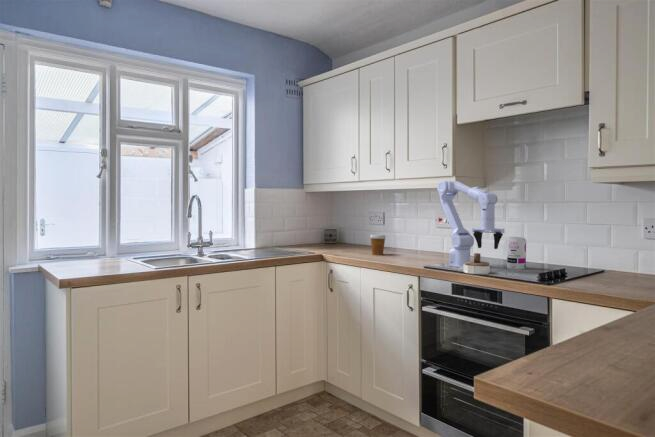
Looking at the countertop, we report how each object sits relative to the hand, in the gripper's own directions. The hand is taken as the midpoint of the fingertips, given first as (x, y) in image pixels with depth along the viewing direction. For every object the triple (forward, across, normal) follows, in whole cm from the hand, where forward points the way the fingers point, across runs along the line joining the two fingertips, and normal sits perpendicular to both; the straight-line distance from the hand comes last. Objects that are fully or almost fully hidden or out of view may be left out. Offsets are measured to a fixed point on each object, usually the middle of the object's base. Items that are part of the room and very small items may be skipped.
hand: (487, 248), depth 212 cm
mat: (+10, +6, +3) cm, 12 cm away
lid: (+7, -1, -9) cm, 11 cm away
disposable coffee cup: (+10, -75, +18) cm, 77 cm away
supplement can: (+11, +7, +16) cm, 20 cm away
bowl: (+10, -1, -9) cm, 14 cm away
